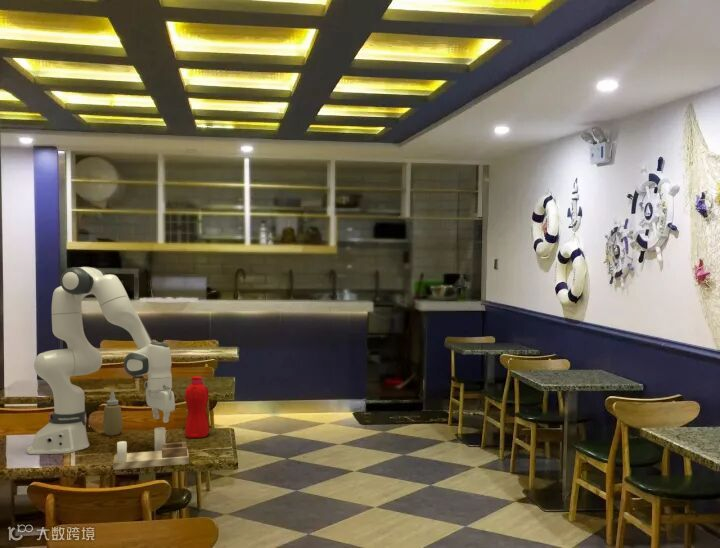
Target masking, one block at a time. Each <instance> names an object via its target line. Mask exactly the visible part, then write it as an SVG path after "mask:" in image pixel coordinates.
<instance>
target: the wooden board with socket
mask: <svg viewBox="0 0 720 548" xmlns="http://www.w3.org/2000/svg"><path fill="white" fill-rule="evenodd" d="M189 464H190V454H189V449H188V445H187V442H186V441H183V442H182V441H181V442H167V443H166V442H165V444H162V451H155V450H154V451H152V450H151V451H140V452H139V451H138V452H129V453H128V452H127V460H126V461H122V462H119V461H117V453H116V454H114V457H113V462H112V470H113V471H116V470H128V469H140V468H152V467H153V468H155V467H163V466H164V467H165V466H166V467H167V466H176V465H189Z"/></svg>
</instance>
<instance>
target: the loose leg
mask: <svg viewBox="0 0 720 548" xmlns="http://www.w3.org/2000/svg"><path fill="white" fill-rule="evenodd" d="M153 433H154V451H162V444H165V443H166V427H162V426H161V427H158V426H157V427H155V428H154V431H153Z"/></svg>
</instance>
